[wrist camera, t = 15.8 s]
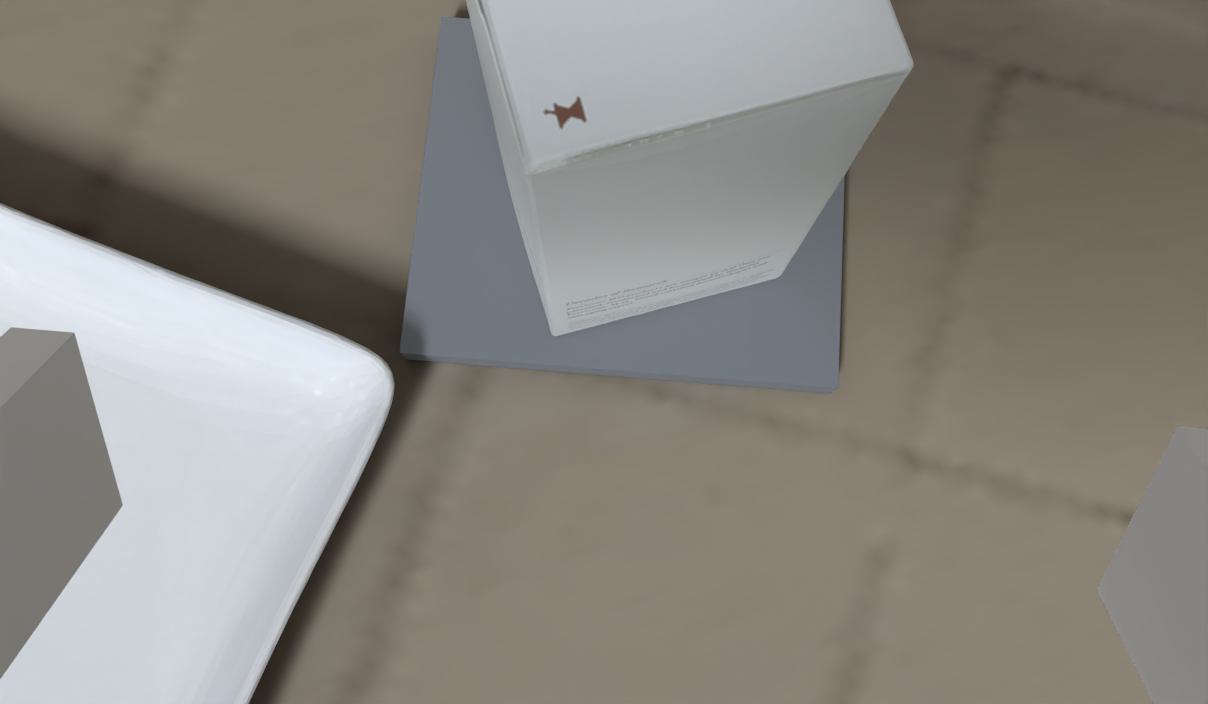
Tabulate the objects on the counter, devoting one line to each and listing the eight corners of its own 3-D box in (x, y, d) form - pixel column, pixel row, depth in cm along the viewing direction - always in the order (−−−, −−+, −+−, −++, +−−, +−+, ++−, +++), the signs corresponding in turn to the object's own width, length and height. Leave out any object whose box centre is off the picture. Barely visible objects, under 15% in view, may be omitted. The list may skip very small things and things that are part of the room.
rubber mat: (840, 63, 31) (848, 48, 31) (830, 393, 29) (838, 387, 28) (446, 33, 32) (441, 16, 31) (405, 359, 29) (399, 352, 28)
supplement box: (787, 281, 29) (930, 78, 17) (548, 342, 28) (511, 180, 16) (718, 64, 30) (803, -272, 18) (490, 118, 30) (416, -189, 18)
